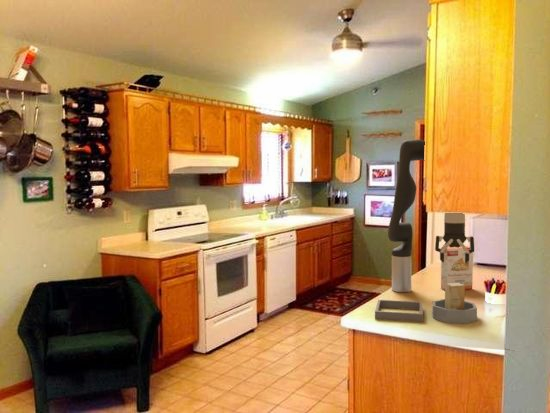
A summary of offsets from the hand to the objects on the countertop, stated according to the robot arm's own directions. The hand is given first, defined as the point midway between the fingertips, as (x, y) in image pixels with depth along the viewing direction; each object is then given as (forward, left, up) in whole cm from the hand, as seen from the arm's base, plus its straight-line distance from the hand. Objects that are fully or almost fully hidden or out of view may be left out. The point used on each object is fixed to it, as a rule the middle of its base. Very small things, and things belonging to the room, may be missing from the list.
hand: (454, 262), depth 186 cm
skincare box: (0, 0, -21) cm, 21 cm away
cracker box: (-48, +5, -22) cm, 53 cm away
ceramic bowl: (0, 0, -22) cm, 22 cm away
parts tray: (0, -21, -22) cm, 30 cm away
